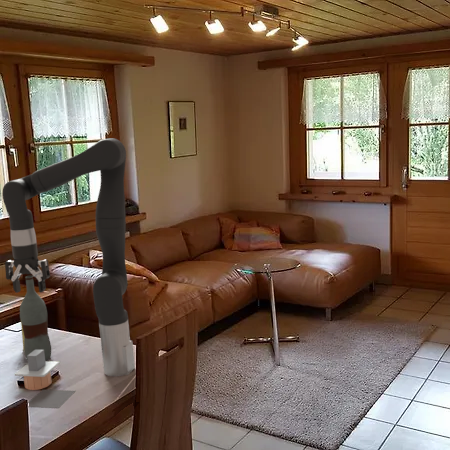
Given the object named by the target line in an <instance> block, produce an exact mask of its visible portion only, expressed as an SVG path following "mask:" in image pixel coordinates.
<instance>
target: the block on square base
mask: <svg viewBox="0 0 450 450" xmlns="http://www.w3.org/2000/svg"><path fill="white" fill-rule="evenodd" d="M27 359H28V362H27V363H26V365H25V364H24V366H23V367H21V368H20V369H18V370H17V371H16V372H15V373H14V374H13V375H14V377H24V376H35V377H45V376H46V375H47V374H48V373H49V372H50V373H51V372H52V371H53V370H54V369H55V368H56V367H57V366H58V365H59V366H60V363H61V362H60V361H49V360H48V361H45V354H44V350H34V351H33V352H31V353H30V354H29V355H27ZM27 359H26V360H27Z"/></svg>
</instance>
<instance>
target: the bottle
mask: <svg viewBox="0 0 450 450" xmlns="http://www.w3.org/2000/svg"><path fill="white" fill-rule="evenodd" d="M24 278H25V284H26V285H25V286H26V293H25V296H24V297H23V300H22V301H21V303H20V306H19V319H20V324H21V323H22V326H21V328H22V327H23V332H24V351H23V352H24V356H25V360H26V361H27V363H28V359H27V355H29V354H30V353H31V352H33V351H34V350H44V354H45V361H49V360H50V359H51V357H52V344H51V340H50V336H49V333H48V332H49V331H48V329H49V328H48V327H49V326H48V309H47V306H46V302H45V301H44V299H43V298H42V297H41V296H40V295H39V294H38V293H37V292H36V289H35V282H34V276H33V275H27V276H25V277H24Z"/></svg>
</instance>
